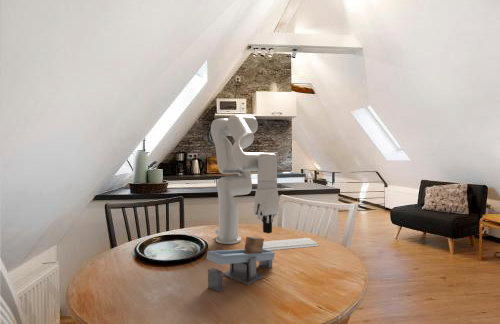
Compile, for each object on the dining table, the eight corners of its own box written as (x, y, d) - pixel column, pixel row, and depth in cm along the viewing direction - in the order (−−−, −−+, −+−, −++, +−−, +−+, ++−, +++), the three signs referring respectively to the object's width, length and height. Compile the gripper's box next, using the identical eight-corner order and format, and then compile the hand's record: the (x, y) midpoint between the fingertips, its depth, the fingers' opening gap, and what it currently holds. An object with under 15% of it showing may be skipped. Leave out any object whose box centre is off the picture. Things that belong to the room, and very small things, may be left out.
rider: (243, 253, 115) (246, 236, 115) (252, 252, 118) (255, 236, 119) (252, 255, 112) (255, 239, 112) (261, 255, 115) (263, 238, 116)
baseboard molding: (320, 248, 144) (308, 240, 156) (320, 242, 144) (308, 235, 156) (256, 254, 136) (249, 246, 147) (256, 247, 135) (249, 239, 147)
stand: (201, 284, 105) (201, 261, 104) (255, 261, 126) (255, 242, 125) (225, 295, 97) (226, 271, 96) (279, 269, 118) (279, 249, 117)
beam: (205, 258, 103) (206, 250, 103) (258, 255, 124) (259, 247, 124) (221, 264, 98) (223, 255, 98) (274, 259, 119) (275, 252, 119)
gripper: (271, 183, 128) (271, 227, 128) (246, 186, 116) (247, 234, 117) (286, 184, 123) (286, 230, 123) (262, 187, 111) (262, 238, 112)
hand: (267, 232), depth 120 cm, fingers closed
